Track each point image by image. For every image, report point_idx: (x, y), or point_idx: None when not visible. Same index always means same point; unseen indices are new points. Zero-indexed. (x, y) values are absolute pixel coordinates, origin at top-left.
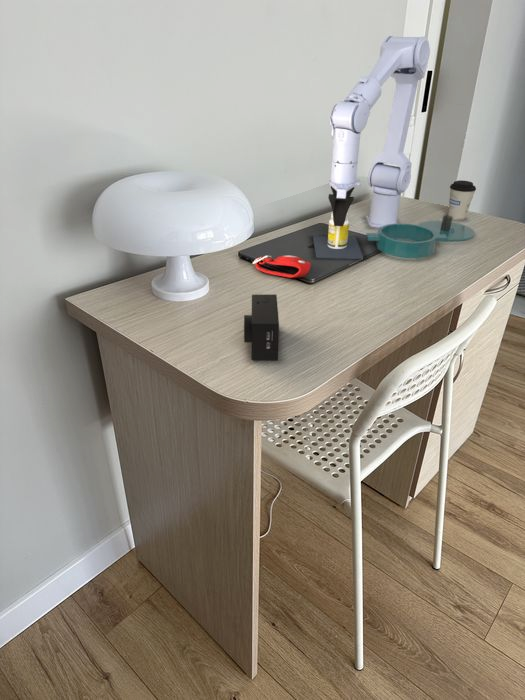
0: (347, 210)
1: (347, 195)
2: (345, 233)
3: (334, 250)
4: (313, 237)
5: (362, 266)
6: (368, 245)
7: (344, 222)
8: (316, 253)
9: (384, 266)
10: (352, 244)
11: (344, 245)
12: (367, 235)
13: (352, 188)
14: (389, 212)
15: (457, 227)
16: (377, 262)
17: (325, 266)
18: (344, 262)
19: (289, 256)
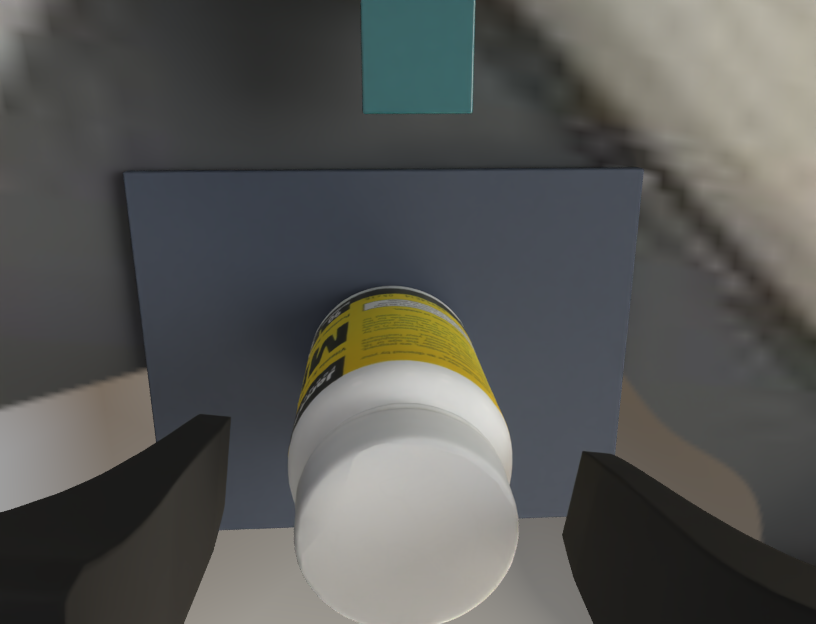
0: (782, 557)
1: (141, 573)
2: (476, 361)
3: None
4: None
5: (778, 194)
6: (308, 68)
7: (632, 466)
8: (546, 513)
9: (801, 4)
10: (338, 226)
11: (455, 318)
12: (426, 113)
13: (82, 604)
14: None
15: None
16: (712, 52)
17: (747, 454)
18: (689, 322)
19: None
